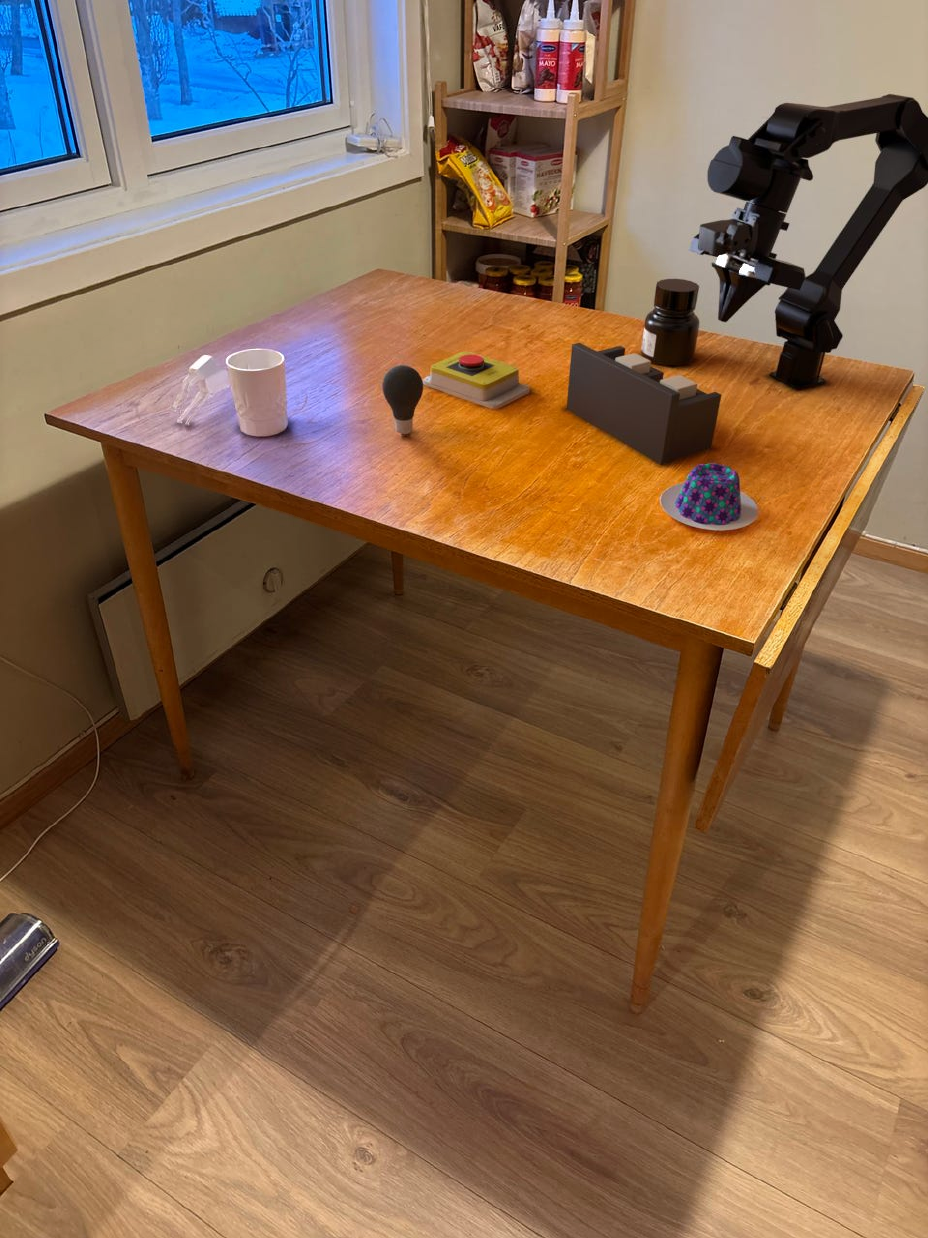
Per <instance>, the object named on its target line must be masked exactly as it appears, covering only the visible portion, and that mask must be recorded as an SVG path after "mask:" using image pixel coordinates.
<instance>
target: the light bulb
mask: <svg viewBox="0 0 928 1238" xmlns="http://www.w3.org/2000/svg"><path fill="white" fill-rule="evenodd" d="M381 384H382V393H383V397H384V398H385V400H386V402H387V404H388V405H389V407H390V408H391V411H392V415H393V418H394V428H395V431H396V432H397V433H398V434H400V435H401V436H403V437H405V436H407V435H408V434H410V432H411V433H412V431H413V427H414V424H413V423H414V422H413V421H414V419H413V418H414V415H415V410H416V408H417V406H418V404H419V402H420V401H421V399H422V396H423V392H424V384H423V379H422V376H421V374H420V373H419V372H418V371H417V370H416V369H415V368H413V367H412V366H410V365H405V364H399V365H396V366H393V367H392V368H390V369H389V370H388V371H387V372H386V373H385V374H384V377H383V380H382V383H381Z"/></svg>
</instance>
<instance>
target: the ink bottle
mask: <svg viewBox="0 0 928 1238" xmlns="http://www.w3.org/2000/svg"><path fill="white" fill-rule="evenodd" d="M699 290H700V285H699V284H698V283H697V282H695V281H691V280H688V279H684V278H683V279H682V278H665V279H660V280H659V281H657V282H656V285H655V292H654V299H653V307H654V308H653V309H652V310H651V311H649V313H647V315H646V316H645V318H644V325H643V333H642V340H641V348H640V356H642V357H644V358H646V359H648V360H650V361H651V363H652V364H656V365H660V366H671V367H673V366H675V367H676V366H679V367H680V366H684V365H687V364H689V363H691V362H692V361H693V360H694V357H695V353H696V348H697V341H698V335H699V329H700V318H699V317H698V315H696V313H695V310H696V307H697V302H698V296H699Z"/></svg>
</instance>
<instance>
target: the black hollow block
mask: <svg viewBox="0 0 928 1238" xmlns="http://www.w3.org/2000/svg"><path fill="white" fill-rule="evenodd" d="M570 351H571V352H570V362H569V363H570V364H569V376H568V385H567V396H566V408H565V409H566V411H568V412H570V413H572V414H573V415H575V416H577V417H579V418H580V419H582V420H584V421H585V422H587V423H589V424H591V425H592V426H594V427H596V428H597V429H599V430H600V431H602V432H604V433H606V434H608V435H609V436H611V437H613V438H614V439H616V440H618V441H619V442H621V443H623V444H625V445H626V446H628V447H630V448H631V449H633V450H634V451H637V452H638V453H640V454H642V455H643V456H645V457H646V458H648V459H650V460H652V461H653V462H655V463H657V464H659V465H660V466H662V465H666V464H668V463H671V462H675V461H678V460H680V459H684V458H687V457H690V456H693V455H696V454H699V453H702V452H705V451H708V450H711V449H712V447H713V441H714V435H715V431H716V426H717V421H718V415H719V410H720V405H721V400H722V394H721V393H719V392H717V391H712V392H709V393H707V394H706V395H702V396H699V397H696V398H692V399H689V400H685V401H682V402H679V396H680V393H679V392H677V391H675V390H673V389H671V388H669V387H667V386H665V385H663V384H661V383H659V382H657V381H655V380H653V379H651V378H649V377H647V376H645V375H643V374H641V373H639V372H637V371H635V370H633V369H631V368H629V367H627V366H625V365H623V364H621V363H619V362H617V361H615V359H616V358H617V357H621V356H625V355H626V347H624V346H621V345H618V346H614V347H609V348H605V349H601V350H598V351H597V350H595V349H593V348H591V347H589V346H587V345H585V344H583V343H581V342H576V343H573V344H571V350H570Z"/></svg>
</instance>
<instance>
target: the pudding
mask: <svg viewBox="0 0 928 1238" xmlns="http://www.w3.org/2000/svg"><path fill="white" fill-rule="evenodd" d="M659 503H660V507H661V508H662V509H663V511H664V512H665V513H666V514H667V515H668V516H670V517H671V518H672V519H674V520H676V521H677V522H679V523H682V524H685V525H687V526H690V527H693V528H697V529H703V530H709V531H733V530H738V529H741V528H745V527H747V526H749V525H751V524H752V523H753V522H755V521H756V520H757V518H758V516H759V507H758V505H757V503H756V502H755V501H754V500H753V498H751V497H750V495H748V494H746V493H745V492H743V491H742V490H741V480H740V476H739V473H738V472H736V470H733V469H732V468H731V467H730V466H728V465H725V464H718V463H715V462H708V463H707V464H706V463H705V464H704V463H700V464H697V465H695V467H694V468H692V469H691V471H689V472H688V475H687V477H686V479H685V481H684V482H681V483H677V484H673V485H672V486H669V487H668V488H667V489H665V490H664V491H663V492H662V493H661V495H660V498H659Z"/></svg>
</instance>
